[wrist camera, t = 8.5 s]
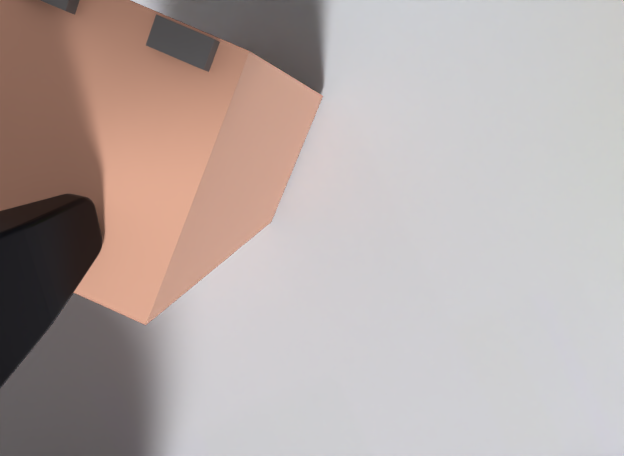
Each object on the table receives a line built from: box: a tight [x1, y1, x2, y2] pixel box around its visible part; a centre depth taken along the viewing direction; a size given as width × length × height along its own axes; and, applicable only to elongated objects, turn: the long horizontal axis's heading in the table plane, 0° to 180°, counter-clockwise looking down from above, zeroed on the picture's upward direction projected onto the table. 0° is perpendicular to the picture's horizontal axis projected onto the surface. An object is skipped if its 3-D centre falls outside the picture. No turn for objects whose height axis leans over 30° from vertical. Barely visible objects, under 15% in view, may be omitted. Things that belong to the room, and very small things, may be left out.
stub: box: [0, 0, 323, 325], centre depth 16 cm, size 5×4×12 cm
